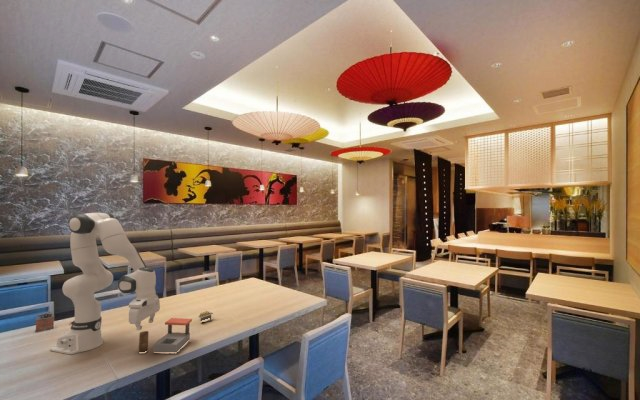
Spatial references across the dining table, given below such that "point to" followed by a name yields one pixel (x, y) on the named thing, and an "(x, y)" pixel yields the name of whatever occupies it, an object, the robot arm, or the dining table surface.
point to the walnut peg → (143, 341)
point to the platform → (205, 315)
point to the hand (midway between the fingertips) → (145, 326)
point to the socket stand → (173, 336)
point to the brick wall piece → (44, 322)
